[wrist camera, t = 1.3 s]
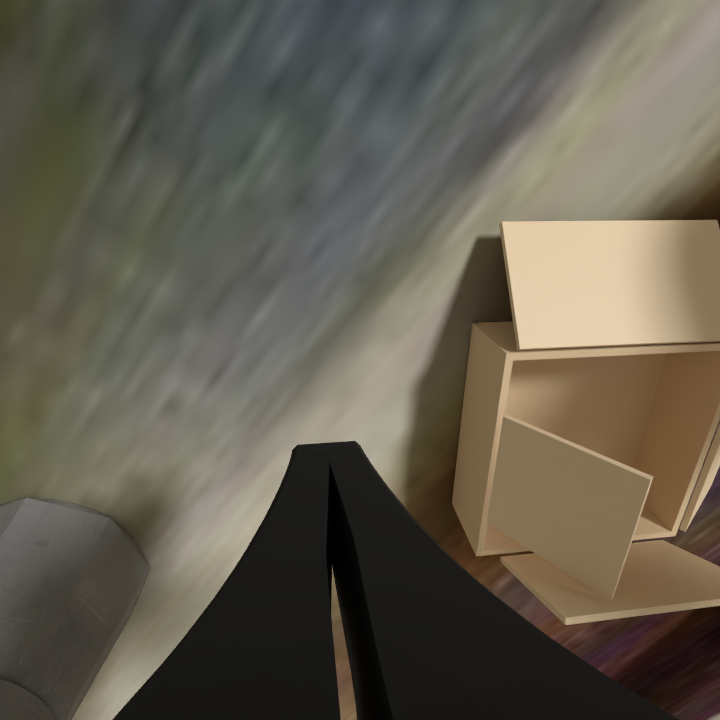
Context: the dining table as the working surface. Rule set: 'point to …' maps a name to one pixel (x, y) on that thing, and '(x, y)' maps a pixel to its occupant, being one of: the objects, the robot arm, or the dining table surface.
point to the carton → (588, 418)
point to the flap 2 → (566, 503)
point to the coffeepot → (60, 603)
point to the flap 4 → (703, 481)
